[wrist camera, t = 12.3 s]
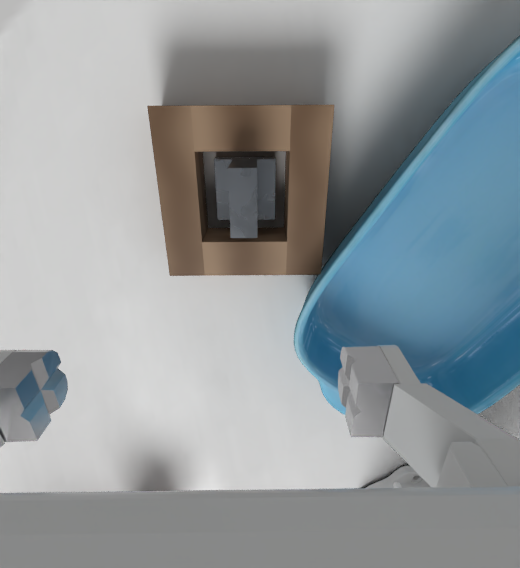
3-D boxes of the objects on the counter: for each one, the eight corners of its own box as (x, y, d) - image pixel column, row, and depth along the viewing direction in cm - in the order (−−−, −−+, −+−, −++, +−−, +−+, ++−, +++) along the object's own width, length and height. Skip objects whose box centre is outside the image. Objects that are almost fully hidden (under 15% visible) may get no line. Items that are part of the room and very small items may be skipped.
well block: (324, 105, 28) (334, 104, 24) (314, 257, 33) (320, 274, 30) (161, 106, 28) (147, 105, 24) (179, 258, 33) (169, 275, 30)
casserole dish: (540, -60, 24) (645, -124, 17) (712, 134, 29) (840, 140, 23) (251, 325, 37) (250, 369, 31) (405, 408, 43) (431, 460, 36)
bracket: (274, 157, 30) (278, 167, 24) (274, 215, 32) (277, 237, 26) (216, 157, 30) (205, 168, 24) (219, 215, 32) (210, 238, 26)
